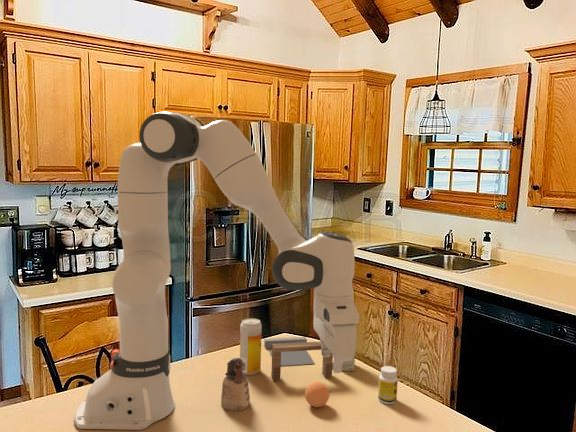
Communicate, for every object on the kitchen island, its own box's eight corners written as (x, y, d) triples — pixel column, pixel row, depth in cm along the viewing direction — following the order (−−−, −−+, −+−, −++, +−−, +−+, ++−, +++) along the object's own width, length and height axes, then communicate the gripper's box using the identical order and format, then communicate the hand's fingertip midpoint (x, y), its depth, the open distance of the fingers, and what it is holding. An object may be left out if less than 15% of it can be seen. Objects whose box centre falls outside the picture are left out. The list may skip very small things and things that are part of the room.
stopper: (265, 348, 154) (265, 341, 153) (264, 346, 156) (264, 338, 155) (306, 346, 157) (306, 339, 156) (305, 344, 159) (305, 336, 158)
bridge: (331, 377, 134) (333, 344, 133) (273, 381, 131) (274, 348, 129) (328, 373, 137) (330, 341, 136) (271, 376, 133) (272, 343, 132)
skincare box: (354, 371, 139) (356, 331, 137) (339, 371, 139) (341, 331, 137) (352, 362, 145) (353, 324, 144) (337, 361, 145) (339, 323, 144)
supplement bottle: (396, 405, 119) (398, 374, 118) (377, 403, 120) (379, 372, 119) (396, 396, 124) (398, 366, 123) (378, 394, 125) (379, 364, 124)
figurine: (246, 395, 122) (246, 351, 121) (252, 409, 116) (253, 362, 114) (218, 399, 120) (219, 354, 119) (224, 413, 113) (224, 365, 112)
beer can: (264, 370, 138) (265, 320, 136) (252, 377, 133) (253, 326, 131) (248, 365, 141) (249, 316, 139) (235, 372, 136) (236, 322, 134)
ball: (308, 412, 115) (308, 389, 114) (302, 400, 121) (303, 378, 120) (331, 410, 116) (332, 387, 115) (324, 399, 122) (325, 376, 121)
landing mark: (275, 366, 140) (275, 365, 140) (269, 350, 152) (269, 350, 152) (314, 364, 143) (314, 363, 143) (305, 348, 154) (305, 348, 154)
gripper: (307, 292, 115) (306, 346, 116) (333, 319, 95) (330, 385, 96) (332, 291, 116) (330, 345, 118) (362, 318, 96) (359, 383, 98)
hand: (330, 363), depth 107 cm, fingers open, 7 cm apart
